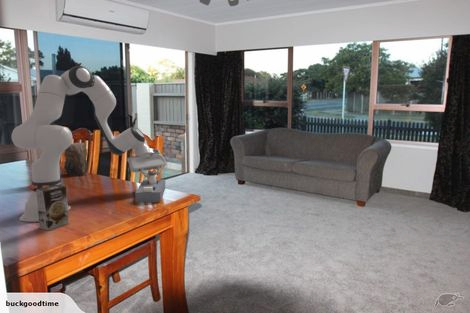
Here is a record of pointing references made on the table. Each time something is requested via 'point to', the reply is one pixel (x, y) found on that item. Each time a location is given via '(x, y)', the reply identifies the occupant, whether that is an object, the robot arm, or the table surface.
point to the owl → (76, 159)
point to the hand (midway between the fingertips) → (153, 175)
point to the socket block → (150, 191)
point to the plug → (152, 177)
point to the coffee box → (52, 207)
